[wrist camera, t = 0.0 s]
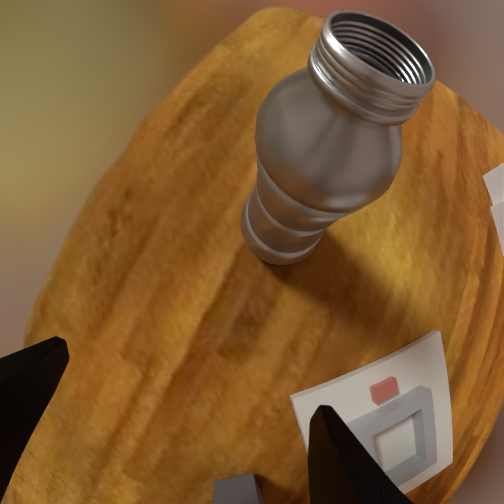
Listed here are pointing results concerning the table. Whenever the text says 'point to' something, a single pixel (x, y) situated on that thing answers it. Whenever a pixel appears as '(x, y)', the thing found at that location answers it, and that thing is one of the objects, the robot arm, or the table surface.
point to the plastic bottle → (332, 133)
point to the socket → (393, 410)
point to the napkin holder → (497, 199)
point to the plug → (238, 491)
